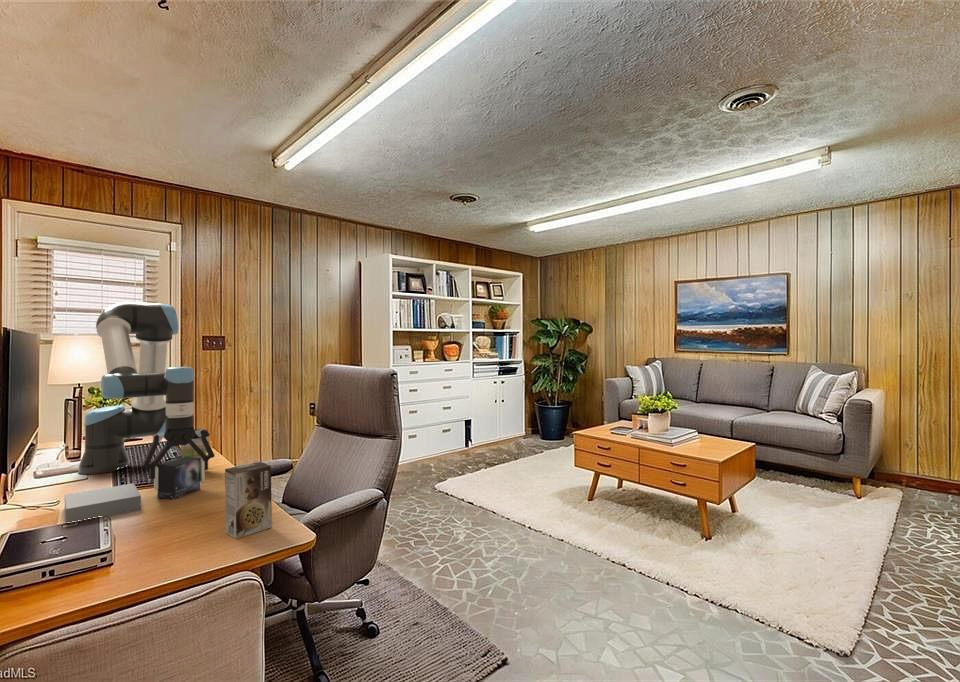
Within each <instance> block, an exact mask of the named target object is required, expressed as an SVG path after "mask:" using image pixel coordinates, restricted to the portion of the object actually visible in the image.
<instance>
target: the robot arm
mask: <svg viewBox="0 0 960 682" xmlns="http://www.w3.org/2000/svg"><path fill="white" fill-rule="evenodd" d="M95 324H96V325H95V326H96V327H95V329H96V333H97V335H98V336H99V337H100V338H101V341H102V348H103V355H104V360H105V365H106V373H107V374H103V375H102V376H101V379H100V382H101V383H100V391H101V397H103V398H104V399H106V400H107V399H108V400H109V399H110V400H111V399H118V400H121V399H130V398H136V400H134V401H133V402H132V403H131V408H126V407H125V406H124V405H123V404H122V405H121V404H120V405H119V404H117V405H110V406H105V407H99V408H94V409H92V410H89V411H88V412H86V414H85V418H84V419H85V420H84V423H83V425H84V452H83V455H82V457H81V460H80V462H79V465H78V473H79V474H80V475H81V474H83V475H96V474H98V475H99V474H106V473H113V472H115V471H114V469H115V468H118V467H123V466H126V465H128V464H129V463H131V462H130V458H129V455H128V453H127V450H126V448H125V440H126V439H127V440H128V439H136V438H145V437H152V442H151V445H150V447H149V449H148V452H147V453H146V456H145V458H144V459H143V462H142V466H143V467H144V468H146V469H149V477H150V478H149V479H150V480H153V489H154V490H155V491H158V464H160V462H161V461H162V460H163V458H164V456H166V454H167V453H168V452H169V450H170V449H171V448H172V447H179V446H180V445H187V444H189V445H190V446H191V447H192V448H193V449H194V450H195V451H196V452H197V453H198V454H199V455H200V456H201V457H202V458H203V460H201V462H200V483H201V482H202V483H203V482H206V481H205V476H206V475H205V473H206V471H208V469H209V460H210V459H213V458H215V453H214V451H213V449H212V447H211V445H210V443H209V440H208V441H207V439H206V436H205V430H206V429H205V430H203V428H201V429H200V430H197V431H195V430H196V429H195V423H194V422H195V417H194V416H193V414H194V413H195V412H194V411H195V410H194V409H195V408H194V407H195V405H194V404H195V403H194V401H195V400H194V396H195V395H194V394H195V393H194V392H195V388H194V386H195V384H194V383H195V374H194V371H195V370H194V368H193V367H191V366H172V367H171V366H170V367H167V368H166V366H167V365H166V364H167V352H168V343H170V342H171V341H172V340H173V336H174V335H178V333H179V319H178V314H177V311H176V309H175V307H174V306H173V305H172V304H166V303H156V302H155V303H154V302H131V301H130V302H129V301H123V302H119V303H115V304H112V305H111V306H109V307H107V308H106V309H104V310H103V311H102V312H100V314H99V316H98V318H97V320H96V322H95ZM133 334H134V335H135V339H136V340H137V341H139V357H138V358H139V359H138V369H137V366H136V360H135V356H134V355H135V354H134V351H133V347H132V342H131V338H130V335H133ZM164 396H165V399H164ZM195 434H197V436H199V437H200V439H201V441H202V443H203V445H204V447H205V449H206V451H207V454H206V455H205V454H204V453H203V452H202V450H201V449H200V448H199V447H198V446H197V445H196V444H195V443H194V442H193V441H192V440H191V439H192V438H193V437H194V436H195ZM162 439H165V441H166V442H165V444H164V445H163V447H162V449H160V450H159V452H158V454H157V455H156V456H155V457H154V454H155V452H156V451H157V448H158V445H159V442H160V443H161V442H162ZM153 457H154V459H153ZM152 459H153V460H152Z"/></svg>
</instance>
